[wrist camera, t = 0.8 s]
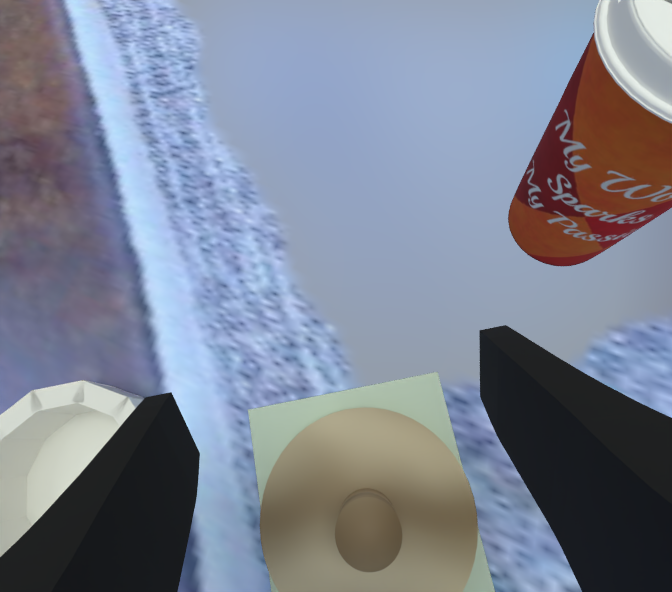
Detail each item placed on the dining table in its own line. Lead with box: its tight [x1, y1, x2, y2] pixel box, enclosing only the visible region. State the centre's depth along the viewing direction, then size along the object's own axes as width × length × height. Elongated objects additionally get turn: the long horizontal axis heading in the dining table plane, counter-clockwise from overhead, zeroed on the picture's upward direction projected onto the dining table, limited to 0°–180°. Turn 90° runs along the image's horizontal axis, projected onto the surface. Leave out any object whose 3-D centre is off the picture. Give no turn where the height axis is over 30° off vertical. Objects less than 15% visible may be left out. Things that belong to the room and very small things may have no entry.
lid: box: [260, 408, 478, 592], centre depth 20 cm, size 10×10×4 cm
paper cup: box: [508, 0, 672, 266], centre depth 20 cm, size 8×8×14 cm
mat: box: [248, 372, 495, 592], centre depth 22 cm, size 12×10×1 cm
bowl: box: [0, 380, 144, 557], centre depth 22 cm, size 9×9×4 cm
